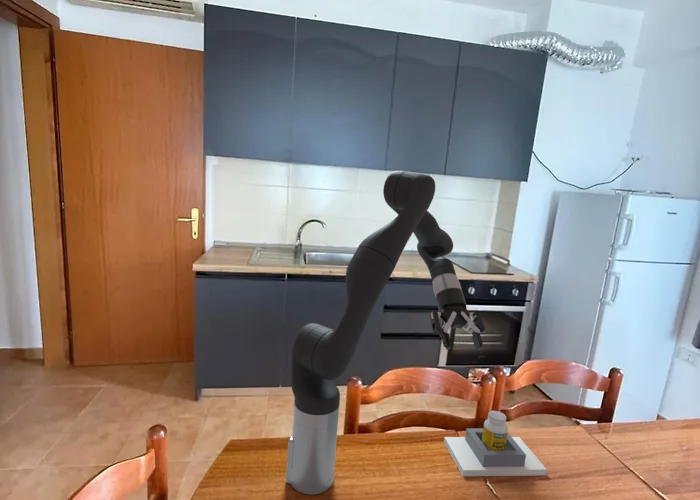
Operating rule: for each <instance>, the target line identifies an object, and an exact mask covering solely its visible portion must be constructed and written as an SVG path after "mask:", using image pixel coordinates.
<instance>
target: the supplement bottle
mask: <svg viewBox="0 0 700 500" xmlns="http://www.w3.org/2000/svg"><path fill="white" fill-rule="evenodd" d="M506 423H507V415H505V413H503V412H501V411H498V410H490V411H489V412H488V415H487V419H486V420H485V421H484V423H483V427H482V428H483V436H482V443H483V444H484V446H485V447H486V449H487V450H488V451H503V450H505V445H506V439H507V432H509V430H508V429H509V428H508V425H507V424H506Z"/></svg>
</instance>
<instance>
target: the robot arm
mask: <svg viewBox="0 0 700 500" xmlns="http://www.w3.org/2000/svg"><path fill="white" fill-rule="evenodd" d="M382 192H383V199H384V201H385V203H386V204H387V205H388V206H389V208H390V209H392V211H394V212H395V213H396V214H397V216H395V218H394V219H392V220H391V221H390V222H388V223H387V224H385V225H384V226H382V227H380V228H379V229H377V230H376V231H374V232H372V233H371V234H369V236H367V237H366V238H364V239H362V241H361V242H360V243H359V245H358V247H357V248H356V250H355V252H354V254H353V255H352V256H351V258H350V261H349V263H348V265H347V267H346V271H345V292H346V299H345V300H346V301H345V307H344V311H343V313H342V316H341V317H340V320H339V321H338V323H337V325H336V327H335V328H334V329H333V328H331V327H328V326H324V325H322V324H320V323H316V322H313V323H312V322H311V323H307V324H305V325H304V326H303V327H301V329H300V330H299V331H298V332H297V334H296V335H295V338H294V340H293V345H292V350H291V390H292V393H293V397H294V400H293V401H294V403H293V404H294V405H293V419H292V421H293V422H292V435H291V436H290V437H289V439H288V442H287V454H286V455H287V457H286V471H285V472H286V473H285V483H287V484H290V485H291V487H292V488H293V489H294V490H296V492H298V493H301V494H305V495H318V494H321V493H325V492H326V491H327V490H329V489H330V488H331V487H332V485H333V483H334V477H335V476H334V475H335V466H336V465H335V462H336V451H337V440H338V439H337V438H338V427H339V414H340V402H341V393H340V390H339V388H338V386H337V385H336V384H335V382H333V381H335V380H337V379H339V378H341V377H342V376H343V375H344V373H345V372H346V370H347V369H348V368H349V366H350V364H351V362H352V360H353V359H354V355H355V353H356V351H357V348H358V345H359V343H360V340H361V339H362V336H363V333H364V330H365V328H366V326H367V323H368V321H369V319H370V317H371V315H372V312H373V310H374V308H375V307H376V304H377V302H378V301H379V298H380V296H381V294H382V292H383V290H384V289H385V287H386V285H387V284H388V282H389V280H390V277H391V276H392V274H393V272H394V270H395V268H396V266H397V264H398V261H399V259H400V257H401V255H402V254H403V251H404V250H405V247H406V245H407V244H408V242H409V241H410V238H411V236H412V235H413V234H414V236H415V238H416V239H417V241H418V242H417V245H416V250H417V253H418V254H419V256H420V258H421V260H423V262H424V264H425V265H426V267H427V269H428V271H429V274H430V275H429V276H430V279H431V282H432V288H433V293H434V297H435V300H436V304H437V309H438V310H437V309H433V310H432V311H431V313H430V314H429V319H430V323H431V329H432V334H433V335H439V336H440V337H441V341H442V345H443V347H444V348H445V350H449V351H450V350H451V349H452V348H453V343H452V340H451V336H450V333H448V331H449V330H450V328H451V329H463V330H464V331H465V332H467V333H469V334H470V335H471V336H472V337H471V339H472V341H473V346H474V348H475V349H474V350H477V351H479V350H481V349H482V348H483V345H484V343H483V340H482V337H481V334H483V333H484V332H485V331H486V326H485V325H484V322H483V320H482V316H481V314H480V312H479V310H474V312H470V311H469V310H468V309H467V302H466V298H465V296H464V291H463V289H462V285H461V282H460V281H459V279H458V277H457V273H456V270H455V267H454V264H453V261H452V260H451V259H449V258H444V256H447V255H449V254H451V253H452V251H453V249H454V242H453V239H452V238H451V236H450V235H449V234H448V233H447V232H446V231H445V230H444V229H442V228H441V227H440V226H439V224H438V221H437V219H436V218H435V216H433V214H431V212H429V211H428V210H429V208H430V206H431V203H432V202H433V199H434V196H435V193H436V181H435V179H434V178H433V177H432V176H431V175H428V174H424V173H419V172H412V171H408V170H407V171H406V170H394V171H391V172H390V173H389V174H388V175H387V177H386V179H385V181H384V184H383V190H382ZM441 257H443V258H441ZM440 319H441V320H442V321H443V322H444V323H443V325H442V327H441V322H440ZM467 324H468V325H467Z"/></svg>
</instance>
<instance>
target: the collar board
mask: <svg viewBox="0 0 700 500" xmlns="http://www.w3.org/2000/svg"><path fill="white" fill-rule="evenodd" d="M483 428H484V427H481V428H479V427H478V428H473V427H472V428H465V436H444V438H443V439H444V440H443V444H444V445H445V447H446V449H447V450H448V451H447V452H448V453H449V455H450V456H451V458H452V460H453V462H454V463H455V465H456V467H457V470H459V472H460V474H461V476H462V477H510V476H511V477H514V476H515V477H517V476H518V477H519V476H521V477H522V476H523V477H524V476H525V477H526V476H529V477H530V476H531V477H532V476H534V477H535V476H547V472H548V469H547V468H546V466H544V464H543V463H542V462H541V461H540V459H538V457H537V456H536V455H535V453H533V451H532V450H531V449H530V448H529V447H528V445H527V444H526V443H525V442H524V441H523V440H522V439H521V437H520V436H511V435H510V433H508V432H509V431H508V432H507V439H506V445H505V450H503V451H488V450H487V449H486V447H485V446H484V444H483V443H482V436H483Z"/></svg>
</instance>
